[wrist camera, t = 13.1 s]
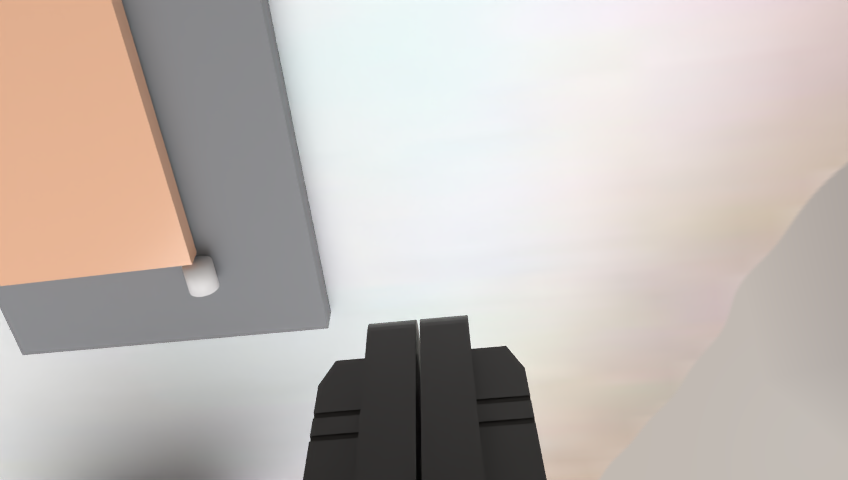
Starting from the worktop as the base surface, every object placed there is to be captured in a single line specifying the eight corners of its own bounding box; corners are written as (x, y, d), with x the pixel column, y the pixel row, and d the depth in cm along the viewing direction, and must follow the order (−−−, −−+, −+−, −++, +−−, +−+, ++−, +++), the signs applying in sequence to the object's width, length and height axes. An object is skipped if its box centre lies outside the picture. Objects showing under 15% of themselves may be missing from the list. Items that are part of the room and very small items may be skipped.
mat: (-189, -145, 32) (-246, -140, 29) (228, -194, 31) (210, -194, 28) (34, 339, 45) (9, 373, 42) (330, 312, 44) (325, 346, 41)
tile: (107, -14, 32) (117, -21, 33) (-128, 13, 32) (-108, 4, 33) (191, 264, 39) (198, 249, 40) (0, 286, 39) (12, 270, 40)
